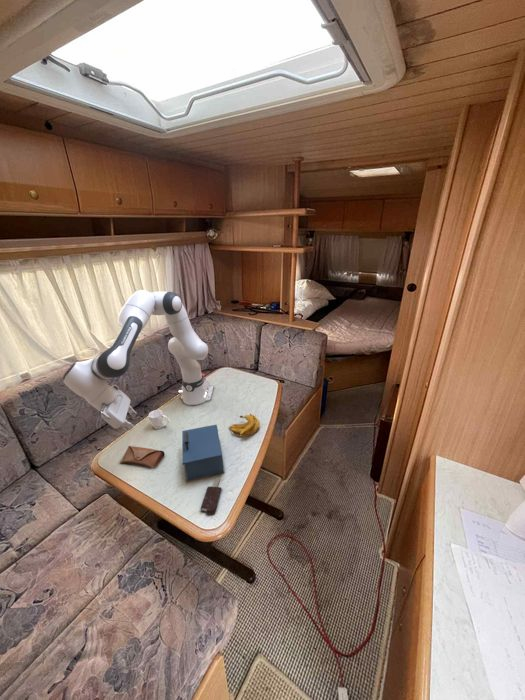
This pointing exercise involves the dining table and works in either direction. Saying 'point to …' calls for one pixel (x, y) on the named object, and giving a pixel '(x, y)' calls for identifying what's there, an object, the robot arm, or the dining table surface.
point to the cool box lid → (200, 444)
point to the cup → (157, 418)
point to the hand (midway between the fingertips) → (134, 421)
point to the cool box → (204, 468)
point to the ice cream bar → (211, 498)
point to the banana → (246, 426)
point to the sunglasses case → (143, 456)
